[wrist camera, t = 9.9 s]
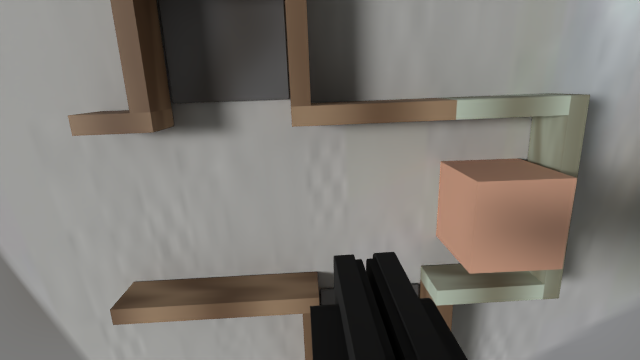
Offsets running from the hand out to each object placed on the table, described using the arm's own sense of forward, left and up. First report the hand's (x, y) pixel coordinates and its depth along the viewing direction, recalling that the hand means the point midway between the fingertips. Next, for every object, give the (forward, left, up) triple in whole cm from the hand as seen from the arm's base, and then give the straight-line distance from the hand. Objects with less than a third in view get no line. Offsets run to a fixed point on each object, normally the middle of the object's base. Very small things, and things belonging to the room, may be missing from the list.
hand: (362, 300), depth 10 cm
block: (-5, +8, -13) cm, 16 cm away
